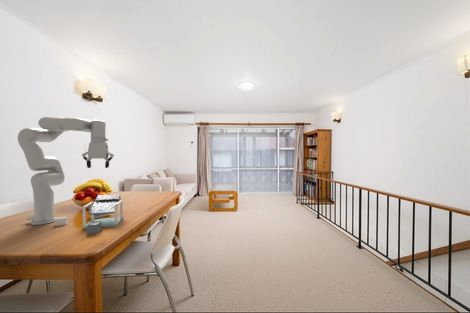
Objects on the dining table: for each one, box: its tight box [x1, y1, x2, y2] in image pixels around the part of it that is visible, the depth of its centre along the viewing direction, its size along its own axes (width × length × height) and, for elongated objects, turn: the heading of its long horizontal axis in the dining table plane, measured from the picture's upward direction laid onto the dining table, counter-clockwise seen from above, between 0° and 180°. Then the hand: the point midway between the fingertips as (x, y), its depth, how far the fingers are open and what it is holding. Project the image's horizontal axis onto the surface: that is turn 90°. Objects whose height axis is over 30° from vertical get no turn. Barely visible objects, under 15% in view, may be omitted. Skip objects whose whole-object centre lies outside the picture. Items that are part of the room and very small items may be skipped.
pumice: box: [54, 216, 68, 227], centre depth 126 cm, size 5×4×4 cm
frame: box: [81, 199, 124, 230], centre depth 127 cm, size 18×15×12 cm
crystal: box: [88, 195, 109, 219], centre depth 143 cm, size 10×13×15 cm
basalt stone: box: [86, 221, 102, 235], centre depth 113 cm, size 5×5×6 cm
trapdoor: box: [88, 193, 122, 216], centre depth 131 cm, size 15×17×4 cm
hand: (98, 167), depth 127 cm, fingers open, 9 cm apart
